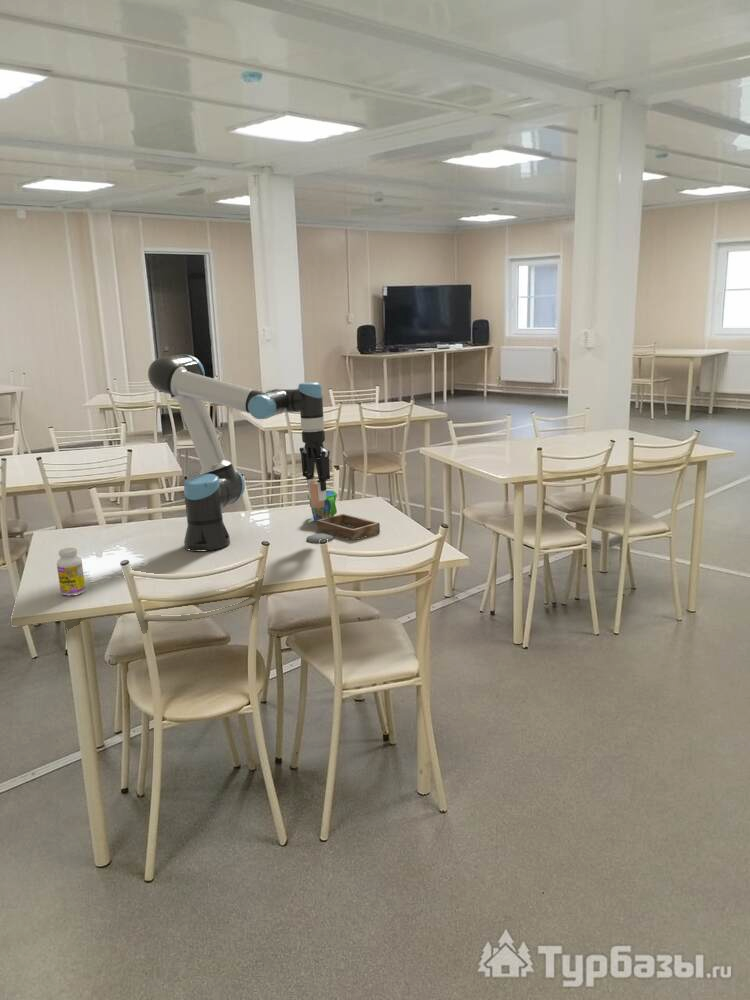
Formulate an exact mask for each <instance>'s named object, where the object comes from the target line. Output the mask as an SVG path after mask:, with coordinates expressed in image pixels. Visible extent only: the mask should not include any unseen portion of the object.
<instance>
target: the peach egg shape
mask: <svg viewBox="0 0 750 1000" xmlns="http://www.w3.org/2000/svg"><path fill="white" fill-rule="evenodd" d="M310 497H311V507H312V508H322V507H325V500H322V501H319V500H318V485H317V481H316V482H312V483H310ZM311 507H310V508H311Z"/></svg>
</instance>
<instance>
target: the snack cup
mask: <svg viewBox="0 0 750 1000" xmlns="http://www.w3.org/2000/svg"><path fill="white" fill-rule="evenodd" d="M337 497H338V493H337V492H336V491H334V490H327V489H326V500H325V507H322V508H312V507H311V499H309V493H308V494H307V498H308V500H309V507H310V509H311V514H312V518H313V520H314V521H315V522H317V520H320V519H324V518H328V517H332V516H336V515H337V513H338V510H337V506H336V499H337Z"/></svg>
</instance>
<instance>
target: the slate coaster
mask: <svg viewBox="0 0 750 1000" xmlns="http://www.w3.org/2000/svg"><path fill="white" fill-rule="evenodd" d="M324 538H325V539H328V540H329V542H330V540H331V541H333V540H334V535H333V534H330V533H316V534H311V535H308V536H306V542H307V543H311V544H320V543H319V540H320V539H324Z"/></svg>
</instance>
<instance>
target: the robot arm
mask: <svg viewBox="0 0 750 1000" xmlns="http://www.w3.org/2000/svg"><path fill="white" fill-rule="evenodd" d="M147 377H148V381H149V383H150V384H151V386H152V387H153V388H154V389H155V390H157V391H159V392H161V393H164V394H168V395H170V397H171V399H172V400H174V401H175V402H177V403H178V406H179V409H180V411H181V414H182V417H183V419H184V422H185V425H186V427H187V428H186V429H187V430H188V433H189V435H190V438H191V442H192V445H193V446H194V450H195V452H196V455H197V458H198V460H199V462H200V466H201V470H200V473H199V474H198V475H193V476H191V477H189V478H187V479H186V480H185V482H184V484H183V495H184V503H185V510H186V511H185V512H186V519H187V520H186V522H187V526H186V527H187V528H186V531H185V536H184V540H183V543H184V549H185V548H187V549H190V550H212V551H215V550H214V549H217V550H220V549H219V548H221V549H223V547H224V548H226V547H228V546H229V545H230V544H231V538H230V534H229V532H228V530H227V527H226V525H225V524H224V520H223V519H224V518H223V508H226V507H227V506H230V505H232V504H234V503H235V502H237V501H238V500H239V499H240V498H242V496H243V495H244V493H245V487H246V484H245V483H246V482H245V479H244V477H243V475H242V474H241V473H240V472H239V471H237V470H236V469H234V465H233V463H232V462H231V461H229V460H227V459H226V456H225V454H224V451H223V448H222V446H221V443H220V439H219V437H218V435H217V431H216V429H215V427H214V424H213V420H212V418H211V415H210V413H209V410H208V407H207V405H206V402H208V403H212V404H216V405H219V406H222V407H226V408H231V409H234V410H237V411H241V412H245V413H247V414H249V415H251V416H252V417H253V418H254V419H257V420H266V419H269V418H272V417H274V416H278V415H282V414H283V413H299V414H300V429H301V430H302V431H301V440H302V443H304V446H303V447H299V452H300V455H301V456H300V459H301V471H302V473H301V474H302V477H305V479H306V483H307V488H308V494H309V498H308V500H309V499H311V497H310V483H312V482H317V485H318V500H319V501H322V500H326V490H327V483H326V482H327V481H328V480H330V479H331V474H330V473H331V472H330V469H331V468H330V454H331V452H330V450H329V449H325V447H324V445H323V443H324V442H325V441H326V434H325V433H326V432H325V430H324V428H325V422H324V402H323V398H324V396H323V390H322V385H321V383H319V382H315V381H312V382H311V381H310V382H301V383H299V384H298V386H297V388H295V389H294V388H292V389H284V388H283V389H279V388H275V389H269V390H266V391H265V392H263V391H258V390H255V389H253V388H248V387H244V386H242V385H237V384H236V383H235V384H234V383H231V382H226V381H223V380H219V379H217V378H213V377H209V376H206V375H205V369H204V365H203V364H202V363H201V361H200V360H199V359H198V358H197V357H195V356H193V355H190V354H184V353H181V354H175V355H168V356H161V357H158V358H156V359H155V360H153V361H152V363H151V364H150V365H149V367H148V371H147ZM315 470H316V474H317V477H318V480H316V475H315ZM227 545H228V546H227ZM225 546H226V547H225ZM187 549H186V550H187Z"/></svg>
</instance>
